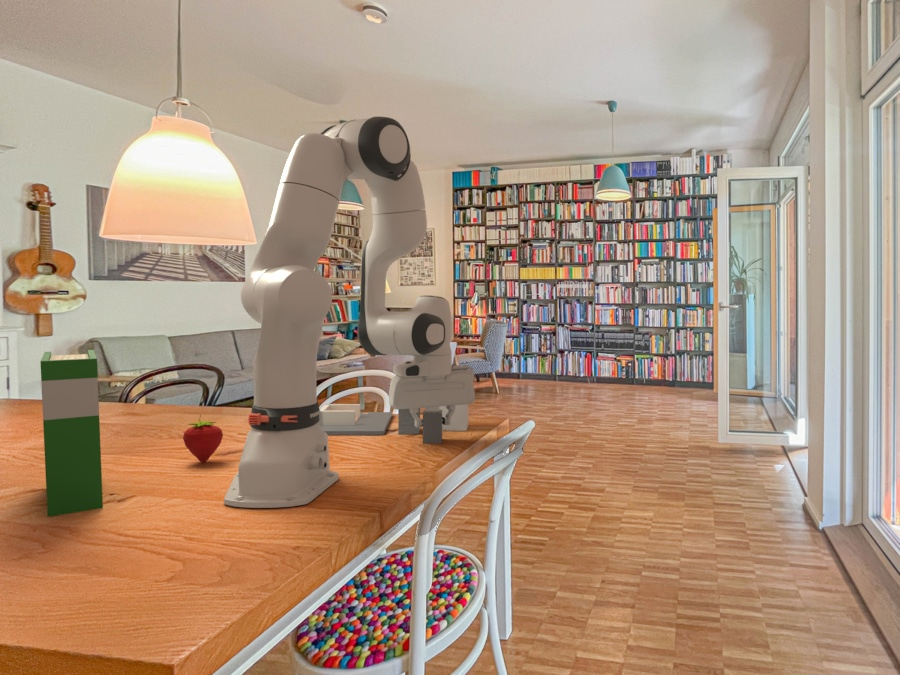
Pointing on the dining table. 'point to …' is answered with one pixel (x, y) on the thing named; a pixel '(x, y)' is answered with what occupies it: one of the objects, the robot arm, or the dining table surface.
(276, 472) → the robot arm
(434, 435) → the connector plug
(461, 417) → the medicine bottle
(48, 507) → the hardback book
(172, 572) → the dining table surface
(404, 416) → the dark grey upright block
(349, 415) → the end holder
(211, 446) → the strawberry
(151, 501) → the dining table surface
